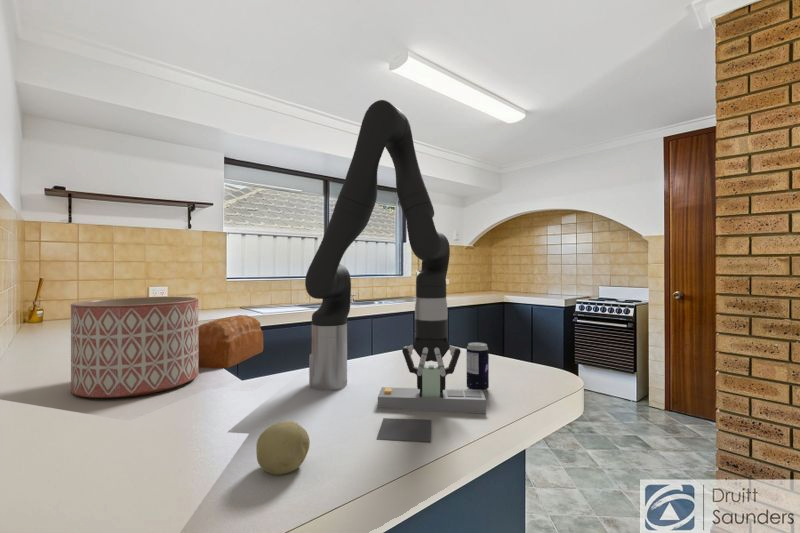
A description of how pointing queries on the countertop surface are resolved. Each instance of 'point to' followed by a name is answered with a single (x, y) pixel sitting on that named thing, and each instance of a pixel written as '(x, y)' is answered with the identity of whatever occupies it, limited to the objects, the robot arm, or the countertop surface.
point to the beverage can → (477, 366)
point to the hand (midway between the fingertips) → (431, 390)
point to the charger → (430, 381)
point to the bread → (228, 341)
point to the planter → (133, 345)
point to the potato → (282, 447)
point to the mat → (405, 430)
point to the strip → (433, 400)
